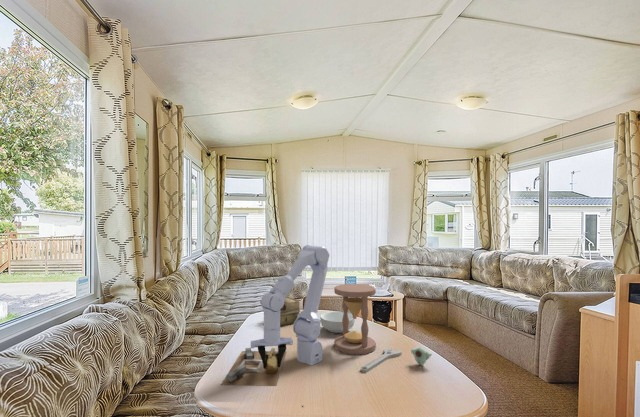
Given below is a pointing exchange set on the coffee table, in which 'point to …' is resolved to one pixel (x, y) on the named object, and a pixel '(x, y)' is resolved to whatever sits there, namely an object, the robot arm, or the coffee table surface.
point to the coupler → (271, 362)
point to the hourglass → (354, 339)
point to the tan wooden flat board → (251, 371)
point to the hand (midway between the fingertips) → (271, 366)
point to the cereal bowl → (335, 321)
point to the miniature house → (289, 312)
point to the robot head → (420, 355)
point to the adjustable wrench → (381, 359)
